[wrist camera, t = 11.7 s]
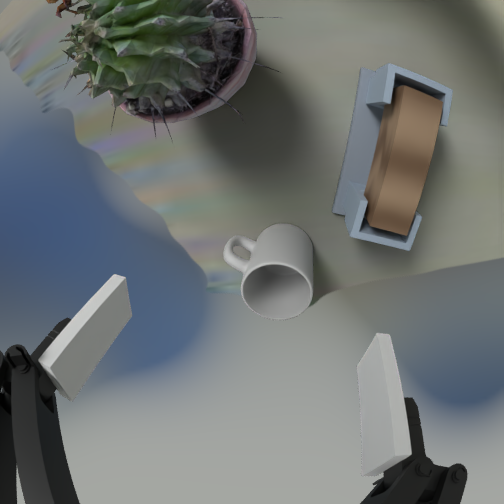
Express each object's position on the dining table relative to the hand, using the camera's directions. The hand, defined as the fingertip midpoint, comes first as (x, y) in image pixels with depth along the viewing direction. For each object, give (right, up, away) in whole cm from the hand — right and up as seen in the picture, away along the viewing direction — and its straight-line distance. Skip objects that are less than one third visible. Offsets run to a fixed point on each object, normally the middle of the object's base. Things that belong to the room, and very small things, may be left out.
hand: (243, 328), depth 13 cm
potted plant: (-4, +28, +17) cm, 33 cm away
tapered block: (+17, +15, +15) cm, 27 cm away
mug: (+4, +5, +28) cm, 28 cm away
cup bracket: (+18, +17, +18) cm, 30 cm away
